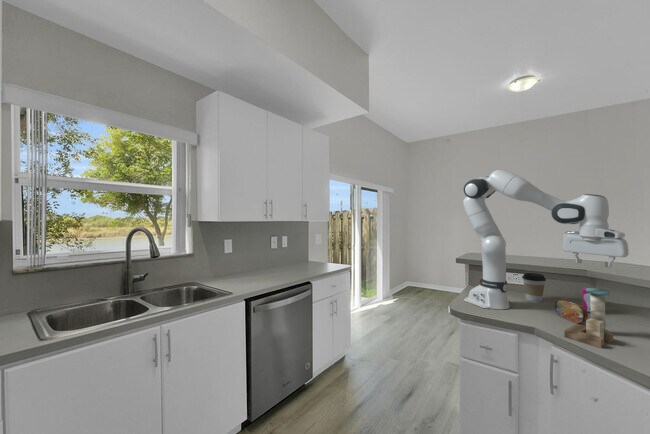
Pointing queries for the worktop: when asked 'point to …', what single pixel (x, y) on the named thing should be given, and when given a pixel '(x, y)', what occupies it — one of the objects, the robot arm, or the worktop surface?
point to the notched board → (587, 336)
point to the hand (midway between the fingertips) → (592, 264)
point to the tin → (571, 311)
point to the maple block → (595, 327)
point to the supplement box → (586, 300)
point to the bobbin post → (597, 303)
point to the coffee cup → (534, 286)
